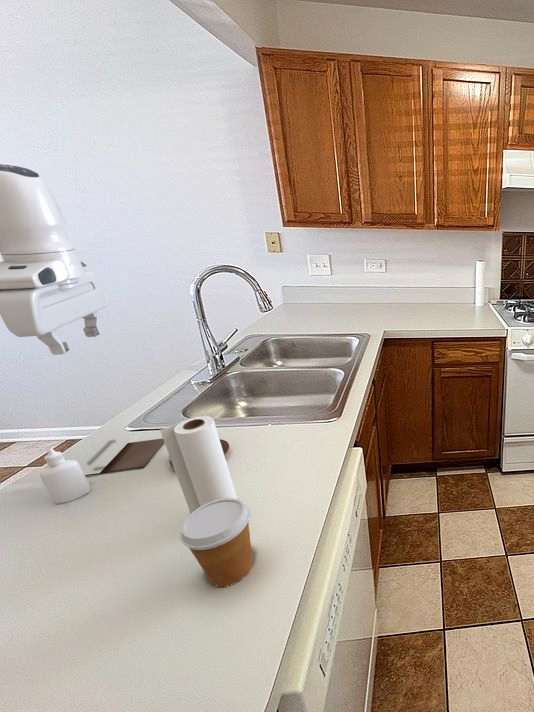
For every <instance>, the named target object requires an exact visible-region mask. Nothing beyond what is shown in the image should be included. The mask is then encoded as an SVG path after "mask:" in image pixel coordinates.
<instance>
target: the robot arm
mask: <svg viewBox="0 0 534 712" xmlns="http://www.w3.org/2000/svg"><path fill="white" fill-rule="evenodd" d="M66 229H67V228H66V221H65V218H64V216H63V213H62V210H61V207H60V205H59V203H58V201H57V199H56V197H55V195H54V193H53V191H52V190H51V187H50V186H49V185H48V183H47V182H46V180H45V179H44V178H43V177H42V176H41V174H39V173H38V172H36V171H34V170H32V169H30V168H26V167H23V166H17V165H11V164H0V256H1V259H2V261H0V317H1V319H2V321H3V323H4V325H5V326H6V328H7V330H8V331H9V332H10V333H12V334H13V335H14V336H16V337H18V338H26V337H27V338H28V337H29V338H30V337H36V338H37V339H38V340H39V341H41V342H42V343H43V344H44V345H46V346H47V347H48V349H49V352H50V353H51V354H52V355H53V356H56V355H59V356H60V355H65V354H66V353H67V352H69V351H70V347H69V346H68V343H67V341H62V340H61V339H60V338H59V337H58V335H59V332H58V330H57V329H59V328H62V327H64V326H67V325H69V324H71V323H73V322H76V321H78V320H80V319H83V322H84V327H83V328H82V330H83V333H84V335H85V337H87V338H96V337H98V336H99V335H101V334H102V331H101V329H100V325H99V324H100V314H99V311H101V310H103V309H105V308H107V307H108V306H109V297H108V294H107V293H106V291H105V288H104V286H103V284H102V282H101V280H100V278H99V277H98V275H97V274H96V273H95V271H92V270H91V267H90V266H88V265H87V264H86V263H84V262H83V261H81V260H80V257H79V254H78V251H77V249H76V247H75V245H74V243H73V242H72V241H71V239H70V238H69V236H68V233H67V230H66Z"/></svg>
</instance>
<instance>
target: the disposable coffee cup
mask: <svg viewBox="0 0 534 712" xmlns="http://www.w3.org/2000/svg"><path fill="white" fill-rule="evenodd" d="M250 514H251V512H250V508H249V507H248V506H247V504H245V503H244V502H243V501H242V500H240V499H238V498H237V499H235V498H224V499H219V500H215V501H212V502H209V503H207V504H205V505H203V506H201V507H199V508H198V509H196V510H195V511H194V512H192V513H190V514H189V515H188V516H187V517H186V518H185V519H184V521H183V523H182V524H181V530H180V535H179V539H180V543H182V545H184V546H185V547H187V548H188V549H189V550H190V552H191V553H192V555H193V557H194V558H195V559H196V561H197V563H198V565H199V566H200V567H201V569H202V570H203V572H204V573H205V575H206V577H207V578H208V580H209V581H210V583H211V582H212V583H213V584H214V585H217V586H226V587H228V586H227V585H230V586H232V585H231V584H233V583H235V582H237V581H239V580H240V581H242V580H243V579H244V578H245V577H246V576H248V574H250V572H251V570H252V568H253V566H254V560H253V553H252V552H253V551H252V542H251V533H250V525H249V519H250ZM249 571H250V572H249ZM244 576H245V577H244ZM243 577H244V578H243ZM242 578H243V579H242ZM241 579H242V580H241ZM240 581H239V582H240ZM212 583H211V584H212ZM237 583H238V582H237ZM213 584H212V585H213ZM235 584H236V583H235ZM214 585H213V586H214ZM233 585H234V584H233ZM217 586H216V587H217Z"/></svg>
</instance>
